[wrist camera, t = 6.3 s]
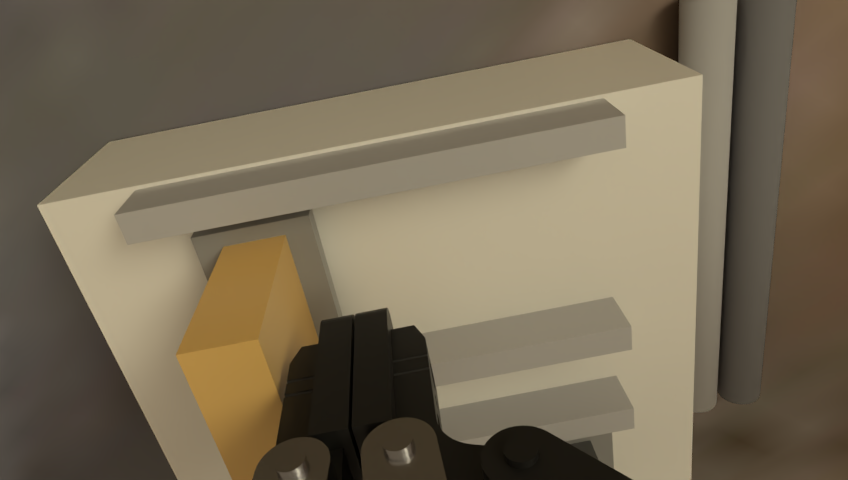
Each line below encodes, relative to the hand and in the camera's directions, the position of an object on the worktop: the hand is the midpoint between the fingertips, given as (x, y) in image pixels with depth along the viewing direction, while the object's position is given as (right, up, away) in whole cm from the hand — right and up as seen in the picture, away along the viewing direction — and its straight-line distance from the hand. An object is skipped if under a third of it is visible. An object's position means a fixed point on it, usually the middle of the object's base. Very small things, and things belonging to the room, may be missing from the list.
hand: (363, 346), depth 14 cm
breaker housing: (+1, 0, +10) cm, 10 cm away
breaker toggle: (-3, +1, +3) cm, 4 cm away
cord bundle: (+12, +3, +9) cm, 15 cm away
